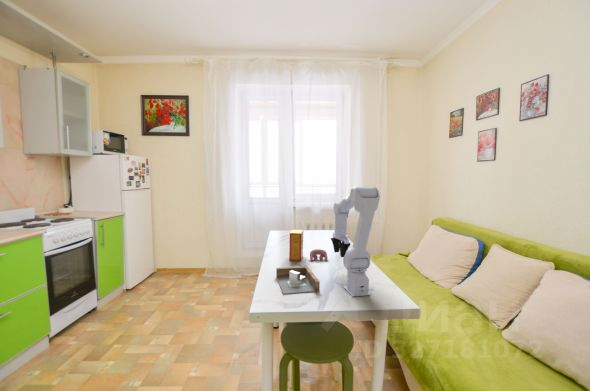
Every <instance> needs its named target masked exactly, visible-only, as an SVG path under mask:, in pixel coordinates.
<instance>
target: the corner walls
mask: <svg viewBox="0 0 590 391" xmlns="http://www.w3.org/2000/svg"><path fill="white" fill-rule="evenodd" d="M292 270H293V271H296V272H299V273H300V275H302V276H306V278H307V279H308V281H309V282H310V284H311V285H312V287H313V288H314V290H315V292H314V293H320V280H319V278H318V277H317V276H316V275H315V274H314V272H313V271H312V270H311V269H310V267H309V266H308V265H303V266H302V265H301V266H300V265H299V266H287V267H276V275H275V277H276V279H277V278H279V277H289V271H292Z"/></svg>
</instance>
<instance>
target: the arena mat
mask: <svg viewBox="0 0 590 391" xmlns="http://www.w3.org/2000/svg"><path fill="white" fill-rule="evenodd" d="M305 277H306V276H305ZM276 279H277V282H278V285H279V287H280V290H281V291H282V292H281V293H282V295H292V294H293V295H294V294H301V293H302V294H303V293H305V294H307V293H313V292H314V293H316V292H315V290H314V288H313V287H312V285H311V284H310V282H309V281H308V279H307V278H306V281H305V282H303V283H301V284H299V285H295V284H292V283H289V277H279V278H277V277H276Z"/></svg>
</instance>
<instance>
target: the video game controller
mask: <svg viewBox="0 0 590 391" xmlns="http://www.w3.org/2000/svg"><path fill="white" fill-rule="evenodd" d="M318 256H319V257H318ZM318 258H319V260H321V261H322V260H323V259H324V260H325V262H328V259H329V258H328V254H327V251H326V250H324V249H321V248H320V249H318V248H317V249H312V250H311V251H310V253H309V259H310V262H313V260H318Z"/></svg>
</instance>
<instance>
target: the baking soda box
mask: <svg viewBox="0 0 590 391" xmlns="http://www.w3.org/2000/svg"><path fill="white" fill-rule="evenodd" d="M303 250H304V230H303V229H291V231H290V232H289V256H288V258H289V259H288V260H289V261H291V262H292V261H293V262H301V261H302V259H303V254H304V251H303Z"/></svg>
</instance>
